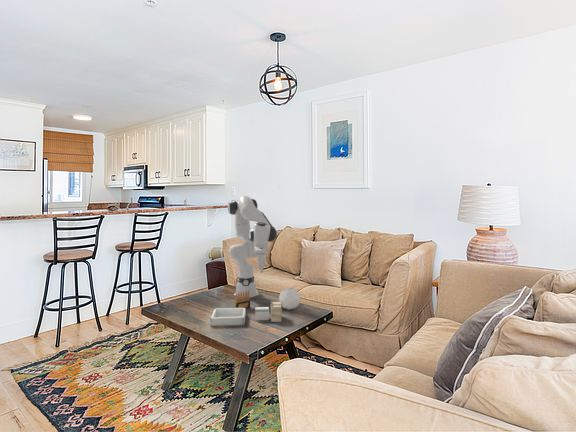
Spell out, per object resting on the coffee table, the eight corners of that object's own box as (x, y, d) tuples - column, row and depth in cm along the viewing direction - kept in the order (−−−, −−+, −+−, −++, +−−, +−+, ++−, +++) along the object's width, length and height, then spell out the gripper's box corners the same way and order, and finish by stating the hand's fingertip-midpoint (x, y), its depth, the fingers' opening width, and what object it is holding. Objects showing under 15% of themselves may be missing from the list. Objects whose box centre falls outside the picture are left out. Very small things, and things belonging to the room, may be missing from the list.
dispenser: (270, 316, 217) (270, 300, 216) (280, 316, 217) (280, 300, 217) (271, 321, 208) (270, 305, 207) (281, 321, 208) (281, 305, 208)
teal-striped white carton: (255, 318, 213) (255, 307, 213) (268, 318, 214) (268, 307, 213) (255, 320, 210) (255, 309, 210) (268, 320, 211) (268, 308, 210)
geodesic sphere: (285, 294, 243) (280, 281, 234) (304, 296, 239) (300, 282, 230) (279, 312, 233) (274, 299, 224) (299, 314, 228) (295, 301, 219)
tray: (214, 315, 219) (214, 308, 218) (245, 314, 220) (245, 307, 220) (210, 326, 201) (210, 318, 201) (244, 325, 203) (244, 317, 202)
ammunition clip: (236, 310, 227) (235, 292, 226) (234, 310, 229) (234, 292, 228) (250, 307, 233) (250, 290, 233) (248, 306, 235) (248, 289, 234)
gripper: (256, 246, 227) (257, 267, 228) (255, 251, 207) (256, 274, 208) (266, 246, 228) (266, 267, 229) (266, 251, 208) (267, 274, 208)
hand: (261, 270), depth 218 cm, fingers open, 8 cm apart
